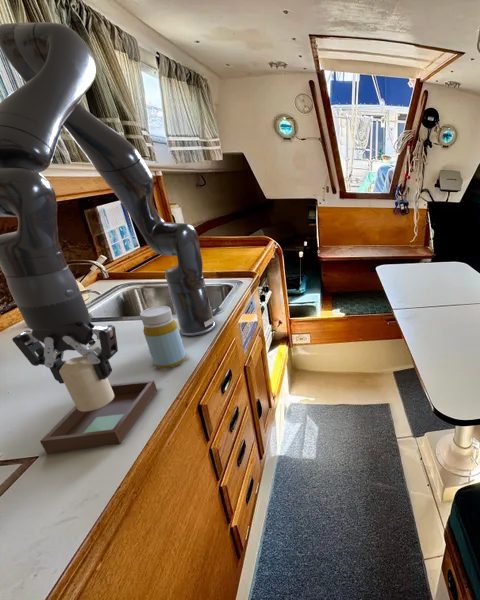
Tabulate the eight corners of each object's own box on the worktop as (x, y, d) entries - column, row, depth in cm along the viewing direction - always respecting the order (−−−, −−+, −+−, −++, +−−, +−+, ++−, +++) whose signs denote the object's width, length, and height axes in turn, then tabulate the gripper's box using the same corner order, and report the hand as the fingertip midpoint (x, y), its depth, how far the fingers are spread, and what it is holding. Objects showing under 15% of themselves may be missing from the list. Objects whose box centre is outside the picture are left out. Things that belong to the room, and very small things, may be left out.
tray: (99, 396, 73) (94, 385, 71) (157, 390, 75) (154, 380, 74) (46, 453, 59) (39, 441, 57) (120, 444, 61) (114, 431, 60)
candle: (113, 388, 66) (95, 346, 62) (116, 402, 62) (98, 359, 58) (76, 401, 62) (55, 357, 58) (77, 416, 59) (55, 371, 55)
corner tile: (97, 417, 66) (96, 417, 66) (134, 413, 68) (134, 412, 67) (74, 444, 60) (73, 443, 60) (116, 438, 61) (116, 438, 61)
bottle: (151, 372, 81) (134, 319, 75) (158, 357, 87) (142, 307, 81) (184, 366, 84) (169, 314, 78) (188, 352, 90) (174, 303, 84)
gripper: (112, 285, 58) (140, 363, 65) (15, 289, 55) (55, 371, 62) (85, 302, 51) (119, 387, 58) (-27, 308, 48) (22, 397, 55)
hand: (85, 378), depth 60 cm, fingers closed on candle, 5 cm apart
